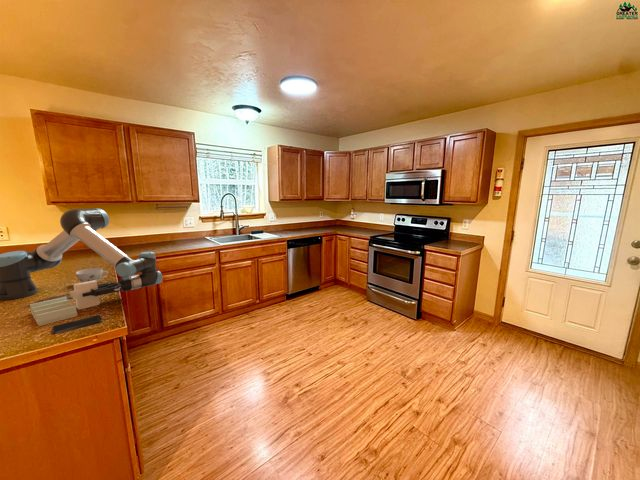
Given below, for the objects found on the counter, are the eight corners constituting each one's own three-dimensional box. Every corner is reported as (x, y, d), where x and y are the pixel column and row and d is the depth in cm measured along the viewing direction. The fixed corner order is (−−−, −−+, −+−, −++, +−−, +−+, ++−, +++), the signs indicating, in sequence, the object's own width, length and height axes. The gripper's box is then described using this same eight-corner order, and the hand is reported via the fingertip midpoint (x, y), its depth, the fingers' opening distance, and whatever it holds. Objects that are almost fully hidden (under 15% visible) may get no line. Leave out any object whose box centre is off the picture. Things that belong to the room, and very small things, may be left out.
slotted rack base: (31, 313, 119) (29, 304, 118) (67, 305, 129) (65, 296, 128) (38, 326, 107) (37, 316, 107) (77, 315, 117) (76, 306, 116)
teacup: (75, 287, 153) (73, 274, 152) (79, 282, 163) (77, 269, 162) (107, 283, 162) (106, 270, 160) (109, 278, 172) (108, 266, 170)
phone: (102, 320, 112) (52, 333, 101) (102, 322, 112) (53, 335, 101) (99, 314, 117) (52, 326, 106) (99, 317, 117) (52, 328, 106)
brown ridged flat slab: (86, 290, 150) (86, 288, 150) (93, 294, 144) (93, 292, 144) (19, 305, 128) (19, 303, 128) (24, 310, 123) (23, 308, 122)
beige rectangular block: (76, 307, 125) (73, 284, 124) (97, 302, 132) (94, 280, 130) (78, 309, 123) (75, 285, 122) (99, 304, 130) (96, 281, 128)
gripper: (136, 293, 137) (77, 307, 118) (124, 286, 146) (68, 299, 128) (135, 279, 135) (74, 292, 117) (123, 273, 145) (66, 284, 126)
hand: (71, 295), depth 122 cm, fingers closed on beige rectangular block, 3 cm apart
